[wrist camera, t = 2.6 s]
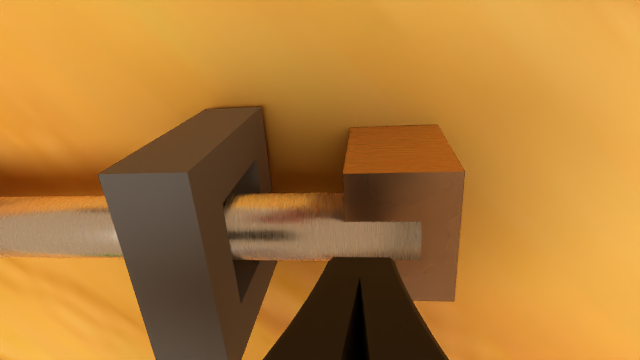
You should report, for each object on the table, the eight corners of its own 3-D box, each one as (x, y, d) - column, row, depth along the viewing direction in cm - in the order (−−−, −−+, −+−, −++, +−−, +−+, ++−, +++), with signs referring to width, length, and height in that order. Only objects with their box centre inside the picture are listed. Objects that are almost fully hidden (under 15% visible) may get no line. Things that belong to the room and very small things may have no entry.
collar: (261, 106, 13) (187, 172, 8) (280, 253, 16) (232, 382, 10) (205, 109, 14) (97, 174, 8) (232, 253, 16) (161, 378, 11)
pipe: (437, 124, 14) (467, 176, 9) (432, 225, 15) (456, 308, 11) (-103, 143, 16) (-264, 189, 12) (-60, 226, 18) (-191, 292, 14)
